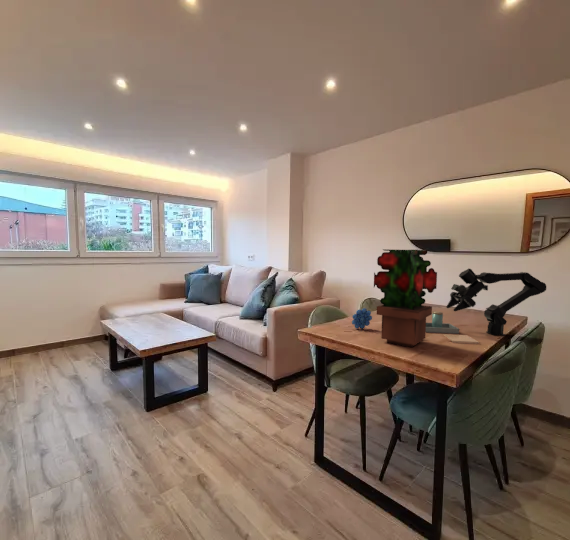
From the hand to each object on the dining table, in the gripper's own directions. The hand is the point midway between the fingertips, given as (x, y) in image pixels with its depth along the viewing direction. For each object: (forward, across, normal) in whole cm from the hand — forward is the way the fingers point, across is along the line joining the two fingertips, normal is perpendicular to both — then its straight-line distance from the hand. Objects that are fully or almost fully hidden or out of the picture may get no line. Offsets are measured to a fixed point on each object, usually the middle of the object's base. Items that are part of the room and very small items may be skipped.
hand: (450, 309), depth 165 cm
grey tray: (+14, 0, +4) cm, 14 cm away
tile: (+10, +15, +8) cm, 20 cm away
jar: (+13, 0, +4) cm, 14 cm away
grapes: (+43, +1, -25) cm, 50 cm away
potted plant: (+31, +24, -12) cm, 41 cm away
